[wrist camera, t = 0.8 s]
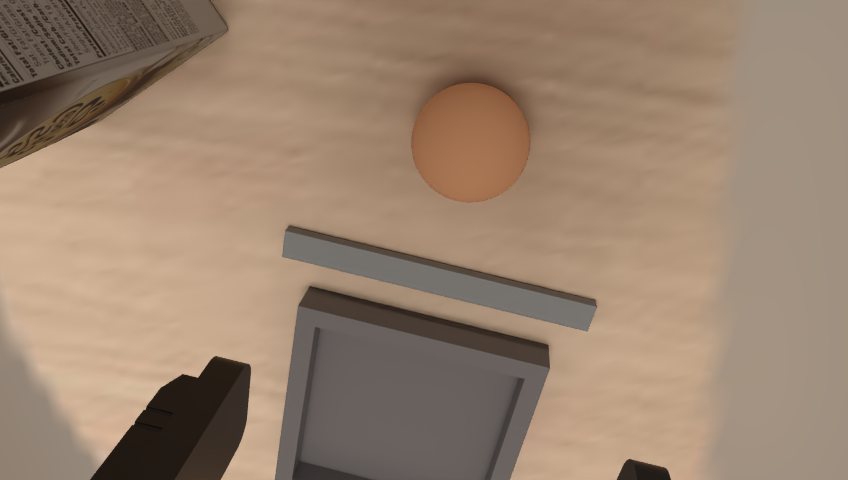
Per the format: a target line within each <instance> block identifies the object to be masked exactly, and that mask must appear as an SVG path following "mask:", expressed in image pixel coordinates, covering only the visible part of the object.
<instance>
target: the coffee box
mask: <svg viewBox="0 0 848 480" xmlns="http://www.w3.org/2000/svg"><path fill="white" fill-rule="evenodd" d="M226 32H227V26H226V25H225V23H224V22H223V20H222V19H221V17H220V16H219V14H218V13H217V11H216V10H215V8H214V7H213V5H212V4H211V2H210V1H209V0H0V168H1V167H4V166H6V165H8V164H10V163H12V162H15V161H17V160H19V159H21V158H23V157H25V156H28V155H30V154H32V153H34V152H36V151H38V150H40V149H42V148H45V147H47V146H49V145H51V144H53V143H55V142H57V141H60V140H62V139H64V138H66V137H68V136H70V135H72V134H74V133H76V132H78V131H80V130H83V129H85V128H87V127H89V126H91V125H93V124H95V123H97V122H99V121H101V120H102V119H104V118H105V117H106V116H108V115H109V114H111V113H112V112H114V111H115V110H117V109H118V108H119V107H121V106H122V105H124V104H125V103H127V102H128V101H129V100H131V99H132V98H134V97H135V96H136V95H138V94H139V93H141V92H142V91H143V90H145V89H146V88H148V87H149V86H150V85H152V84H153V83H155V82H156V81H157V80H159V79H160V78H162V77H163V76H165V75H166V74H168V73H169V72H170V71H172V70H173V69H175V68H176V67H178V66H179V65H180V64H182V63H183V62H185V61H186V60H188V59H189V58H190V57H192V56H193V55H195V54H196V53H197V52H199V51H200V50H202V49H203V48H205V47H206V46H207V45H209V44H210V43H212V42H213V41H215V40H216V39H218V38H219V37H220V36H222V35H223V34H224V33H226Z"/></svg>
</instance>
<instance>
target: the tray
mask: <svg viewBox="0 0 848 480" xmlns="http://www.w3.org/2000/svg"><path fill="white" fill-rule="evenodd" d="M549 369H550V364H549V348H548V345H545V344H541V343H537V342H533V341H529V340H525V339H521V338H517V337H512V336H508V335H504V334H500V333H496V332H492V331H488V330H484V329H480V328H476V327H472V326H468V325H464V324H460V323H456V322H452V321H448V320H443V319H439V318H435V317H431V316H427V315H423V314H419V313H415V312H411V311H407V310H403V309H399V308H395V307H391V306H387V305H383V304H379V303H374V302H370V301H366V300H362V299H358V298H354V297H350V296H346V295H342V294H338V293H334V292H330V291H326V290H322V289H318V288H314V287H309V289H308V290H307V292H306V294H305V295H304V297H303V299H302V300H301V302H300V304H299V306H298V312H297V319H296V326H295V334H294V341H293V349H292V356H291V364H290V371H289V378H288V386H287V393H286V401H285V408H284V415H283V423H282V430H281V438H280V445H279V453H278V460H277V467H276V475H275V480H510V478H511V475H512V472H513V469H514V466H515V464H516V461H517V458H518V455H519V452H520V450H521V447H522V444H523V441H524V439H525V436H526V433H527V430H528V427H529V425H530V422H531V419H532V416H533V414H534V411H535V408H536V405H537V402H538V400H539V397H540V394H541V391H542V388H543V386H544V383H545V380H546V377H547V375H548V372H549Z"/></svg>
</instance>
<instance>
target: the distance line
mask: <svg viewBox="0 0 848 480" xmlns="http://www.w3.org/2000/svg"><path fill="white" fill-rule="evenodd" d="M282 257H286V258H290V259H294V260H298V261H302V262H306V263H310V264H314V265H318V266H323V267H327V268H331V269H335V270H339V271H343V272H347V273H351V274H355V275H359V276H363V277H367V278H371V279H376V280H380V281H384V282H388V283H392V284H396V285H400V286H404V287H408V288H412V289H416V290H420V291H424V292H429V293H433V294H437V295H441V296H445V297H449V298H453V299H457V300H461V301H465V302H469V303H473V304H478V305H482V306H486V307H490V308H494V309H498V310H502V311H506V312H510V313H514V314H518V315H522V316H526V317H531V318H535V319H539V320H543V321H547V322H551V323H555V324H559V325H563V326H567V327H571V328H575V329H580V330H584V331H588V329H589V326H590V324H591V321H592V318H593V316H594V313H595V310H596V308H597V305H596V301H595V300H591V299H587V298H582V297H578V296H574V295H570V294H566V293H562V292H558V291H554V290H550V289H545V288H541V287H537V286H533V285H529V284H525V283H521V282H517V281H513V280H509V279H504V278H500V277H496V276H492V275H488V274H484V273H480V272H476V271H472V270H467V269H463V268H459V267H455V266H451V265H447V264H443V263H439V262H435V261H430V260H426V259H422V258H418V257H414V256H410V255H406V254H402V253H398V252H394V251H389V250H385V249H381V248H377V247H373V246H369V245H365V244H361V243H357V242H352V241H348V240H344V239H340V238H336V237H332V236H328V235H324V234H320V233H315V232H311V231H307V230H303V229H299V228H295V227H291V226H289V227H288V228H287V229H286V230H285V237H284V245H283V254H282Z"/></svg>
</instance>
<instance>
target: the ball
mask: <svg viewBox="0 0 848 480" xmlns="http://www.w3.org/2000/svg"><path fill="white" fill-rule="evenodd" d="M529 150H530V134H529V129H528V125H527V122H526V119H525V117H524V115H523V113H522V111H521V109H520V108H519V107H518V105H517V104H516V103H515V102H514V101H513V100H512V99H511V98H510V97H509V96H508V95H507V94H505V93H504V92H502V91H500V90H499V89H497V88H494V87H492V86H489V85H486V84H480V83H462V84H457V85H453V86H451V87H448V88H446V89H444V90H442V91H440V92H439V93H437V94H436V95H435V96H433V97H432V98H431V99H430V100H429V101H428V102H427V103H426V105H425V106H424V107H423V108H422V110H421V111H420V113H419V115H418V117H417V119H416V122H415V125H414V128H413V132H412V153H413V158H414V162H415V165H416V167H417V169H418V171H419V173H420V175H421V176H422V178H423V179H424V180H425V181H426V183H427V184H428V185H429V186H430V187H431V188H433V189H434V190H435V191H436V192H438V193H439V194H441V195H443V196H445V197H447V198H449V199H453V200H456V201H461V202H479V201H484V200H488V199H491V198H493V197H495V196H497V195H499V194H501V193H503V192H504V191H506V190H507V189H508V188H509V187H510V186H511V185H512V184H513V183H514V182H515V181H516V180H517V179H518V177H519V176H520V174H521V173H522V171H523V169H524V167H525V165H526V162H527V159H528V155H529Z"/></svg>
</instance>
